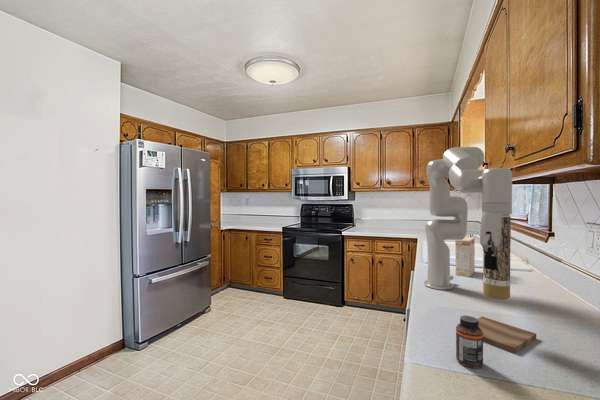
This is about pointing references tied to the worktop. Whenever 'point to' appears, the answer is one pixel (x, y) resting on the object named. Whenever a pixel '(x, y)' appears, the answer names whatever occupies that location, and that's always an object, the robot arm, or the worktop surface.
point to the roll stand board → (505, 335)
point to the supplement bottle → (469, 342)
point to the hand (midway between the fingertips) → (496, 267)
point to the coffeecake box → (465, 256)
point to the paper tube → (499, 266)
